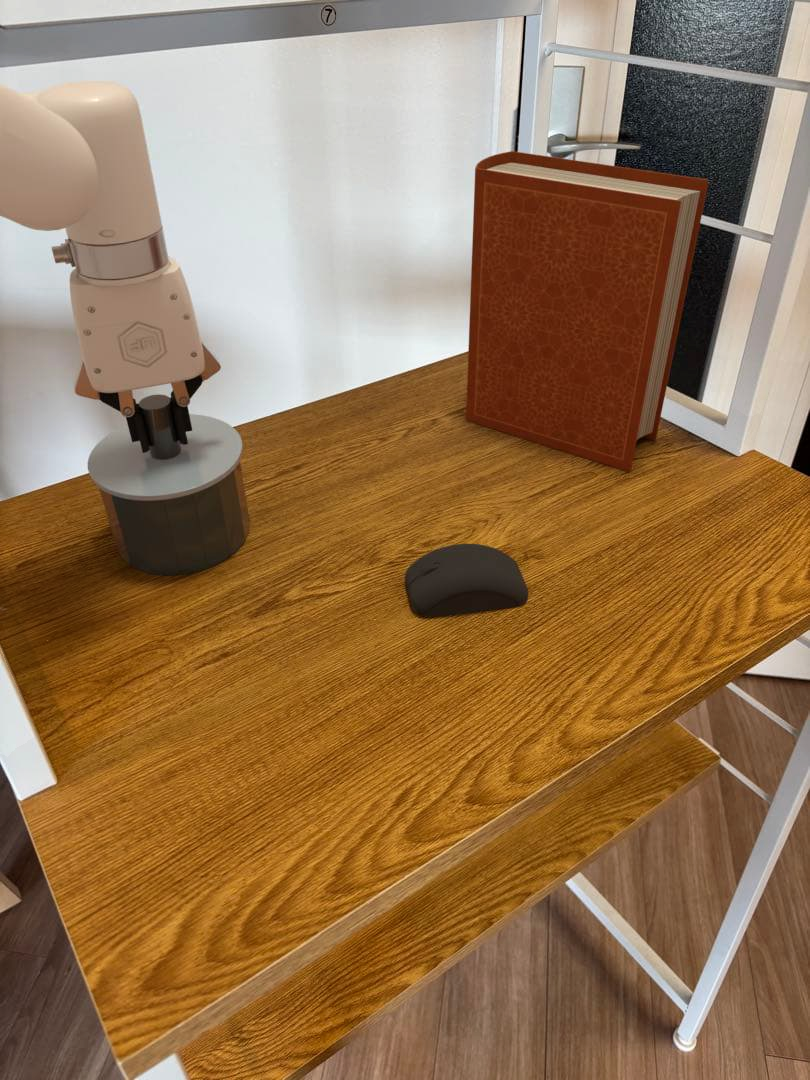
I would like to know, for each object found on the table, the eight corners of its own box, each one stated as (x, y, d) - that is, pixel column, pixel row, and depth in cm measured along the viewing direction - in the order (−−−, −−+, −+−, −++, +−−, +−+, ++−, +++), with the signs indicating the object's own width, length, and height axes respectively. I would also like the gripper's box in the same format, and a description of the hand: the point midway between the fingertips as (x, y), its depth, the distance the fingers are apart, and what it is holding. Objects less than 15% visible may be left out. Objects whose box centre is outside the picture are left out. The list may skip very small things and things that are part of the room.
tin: (124, 589, 80) (100, 510, 75) (111, 511, 90) (90, 436, 85) (261, 556, 84) (249, 479, 78) (235, 485, 94) (222, 411, 88)
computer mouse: (402, 575, 82) (402, 544, 79) (513, 562, 83) (516, 530, 80) (413, 619, 77) (413, 587, 74) (531, 604, 78) (535, 572, 76)
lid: (96, 520, 74) (77, 457, 70) (85, 439, 85) (68, 381, 81) (258, 486, 78) (249, 424, 74) (228, 412, 89) (218, 355, 85)
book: (655, 440, 100) (708, 179, 82) (630, 472, 95) (680, 201, 76) (490, 391, 111) (503, 149, 92) (458, 417, 105) (466, 167, 87)
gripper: (16, 283, 64) (78, 479, 75) (226, 253, 68) (255, 444, 80) (15, 251, 69) (73, 439, 81) (210, 226, 74) (239, 408, 85)
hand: (163, 440), depth 80 cm, fingers closed on lid, 3 cm apart
